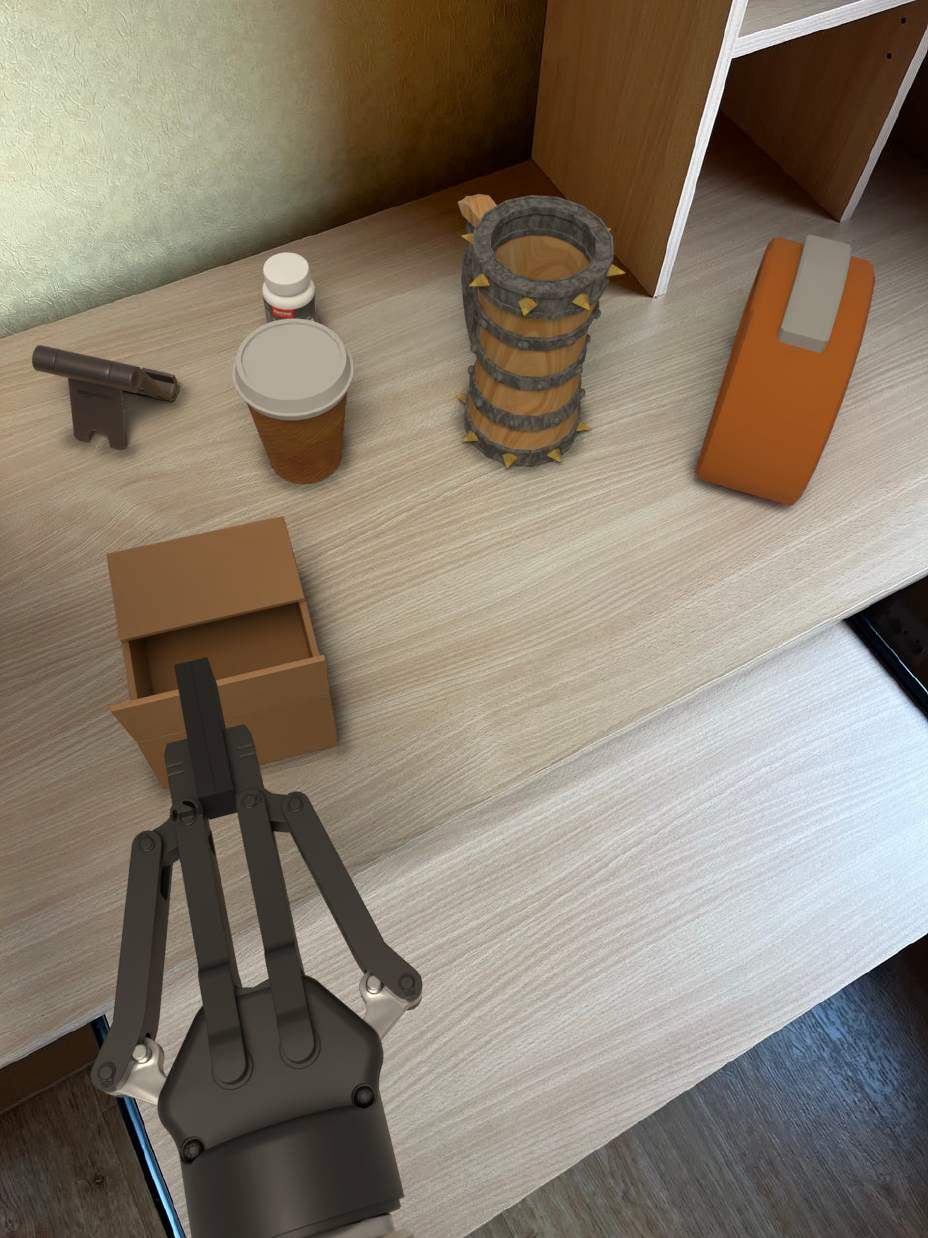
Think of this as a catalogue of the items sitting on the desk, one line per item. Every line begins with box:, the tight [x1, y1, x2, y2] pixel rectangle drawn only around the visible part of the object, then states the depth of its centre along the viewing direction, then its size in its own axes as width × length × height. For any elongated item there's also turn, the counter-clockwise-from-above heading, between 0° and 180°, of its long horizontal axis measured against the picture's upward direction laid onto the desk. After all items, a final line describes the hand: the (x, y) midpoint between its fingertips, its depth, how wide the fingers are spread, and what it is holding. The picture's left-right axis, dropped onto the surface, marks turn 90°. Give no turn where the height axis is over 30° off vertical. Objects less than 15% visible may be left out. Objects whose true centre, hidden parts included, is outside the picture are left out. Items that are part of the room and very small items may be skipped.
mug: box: [454, 193, 626, 469], centre depth 88 cm, size 13×17×20 cm
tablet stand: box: [31, 344, 179, 451], centre depth 91 cm, size 9×8×8 cm
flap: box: [108, 654, 330, 743], centre depth 67 cm, size 13×7×1 cm
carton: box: [106, 515, 339, 790], centre depth 78 cm, size 13×15×9 cm
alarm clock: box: [695, 234, 876, 506], centre depth 90 cm, size 23×9×17 cm, turn 161°
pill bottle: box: [261, 251, 319, 324], centre depth 96 cm, size 5×5×8 cm
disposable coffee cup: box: [231, 319, 355, 485], centre depth 88 cm, size 10×10×12 cm
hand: (196, 675), depth 48 cm, fingers closed
